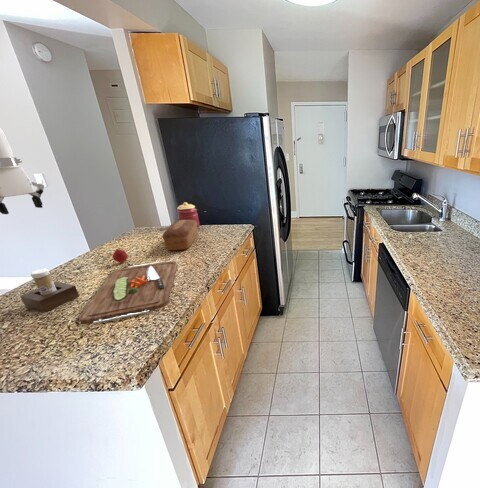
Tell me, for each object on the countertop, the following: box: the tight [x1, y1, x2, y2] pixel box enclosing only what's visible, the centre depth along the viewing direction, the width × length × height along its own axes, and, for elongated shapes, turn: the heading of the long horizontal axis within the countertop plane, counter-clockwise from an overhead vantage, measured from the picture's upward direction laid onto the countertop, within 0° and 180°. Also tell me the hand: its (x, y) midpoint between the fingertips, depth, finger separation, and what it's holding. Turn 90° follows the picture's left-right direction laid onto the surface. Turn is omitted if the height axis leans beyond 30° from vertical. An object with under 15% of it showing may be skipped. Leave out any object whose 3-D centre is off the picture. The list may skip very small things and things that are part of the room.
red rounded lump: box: [112, 248, 129, 264], centre depth 130 cm, size 6×6×8 cm
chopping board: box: [78, 260, 178, 325], centre depth 109 cm, size 45×27×3 cm, turn 22°
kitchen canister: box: [176, 201, 201, 228], centre depth 183 cm, size 13×13×18 cm
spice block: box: [19, 281, 80, 313], centre depth 99 cm, size 11×11×5 cm
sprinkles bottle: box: [30, 268, 57, 296], centre depth 98 cm, size 5×5×13 cm
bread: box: [162, 219, 199, 251], centre depth 154 cm, size 14×28×12 cm, turn 12°
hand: (23, 210), depth 98 cm, fingers open, 9 cm apart
